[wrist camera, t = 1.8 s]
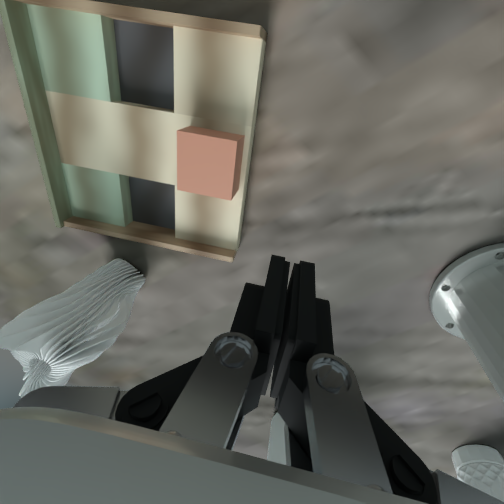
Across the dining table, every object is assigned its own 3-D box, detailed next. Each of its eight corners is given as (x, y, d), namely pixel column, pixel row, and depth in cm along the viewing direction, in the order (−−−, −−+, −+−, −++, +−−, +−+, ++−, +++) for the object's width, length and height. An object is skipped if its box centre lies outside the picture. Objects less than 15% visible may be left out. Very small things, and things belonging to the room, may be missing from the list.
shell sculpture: (113, 235, 35) (-36, 349, 20) (165, 276, 37) (66, 408, 22) (88, 271, 39) (-52, 388, 24) (136, 306, 41) (35, 435, 26)
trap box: (267, 33, 22) (259, 24, 19) (239, 246, 33) (231, 265, 30) (37, -1, 24) (-7, -15, 21) (80, 212, 35) (56, 226, 31)
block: (244, 135, 25) (237, 141, 22) (238, 189, 27) (231, 200, 25) (190, 125, 25) (176, 130, 23) (189, 180, 28) (177, 189, 25)
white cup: (437, 447, 46) (466, 530, 37) (491, 437, 42) (537, 525, 34) (460, 471, 48) (492, 554, 39) (513, 462, 44) (561, 552, 36)
